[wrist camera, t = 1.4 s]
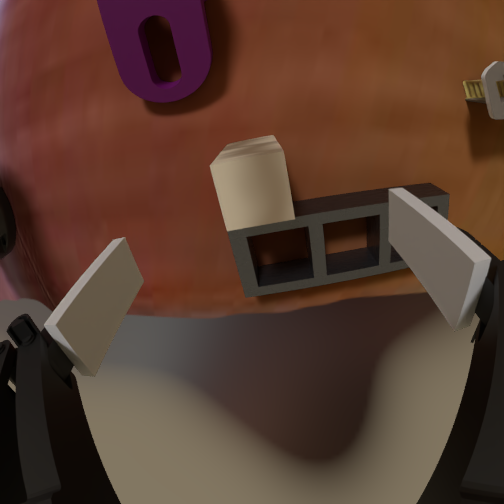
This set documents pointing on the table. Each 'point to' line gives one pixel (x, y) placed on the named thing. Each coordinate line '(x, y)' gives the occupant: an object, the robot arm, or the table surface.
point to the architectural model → (488, 90)
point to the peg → (252, 183)
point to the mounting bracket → (138, 53)
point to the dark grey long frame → (318, 264)
